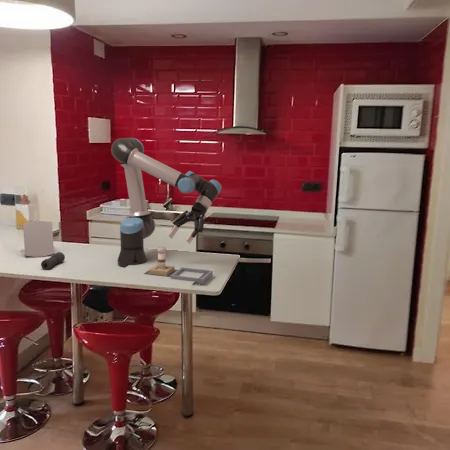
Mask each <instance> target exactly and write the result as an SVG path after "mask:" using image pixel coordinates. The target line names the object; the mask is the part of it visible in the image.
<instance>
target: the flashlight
mask: <svg viewBox="0 0 450 450" xmlns="http://www.w3.org/2000/svg"><path fill="white" fill-rule="evenodd" d="M65 259H66V255H65V254H64V253H63V252H62V251H58V252H56V253H55V252H54V253H53V254H52V255H50V257H48V258H45V259H43V260H42V261H41V263H40V267H41V268H42V270H45V271H47V270H51V269H52V268H53V266H56V265H59V264H61V263H62V262H64V261H65Z"/></svg>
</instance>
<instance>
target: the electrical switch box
mask: <svg viewBox="0 0 450 450" xmlns="http://www.w3.org/2000/svg"><path fill="white" fill-rule="evenodd" d="M22 225H23V226H22V228H23V245H24V255H25V256H26V257H34V258H35V257H36V258H41V257H46V256H49V255H50V256H52V255H54V254H55V252H54V251H55V250H54V232H53V222H52V221H45V220H38V219H37V220H34V221H33V220H32V221H29V222H24V223H23V224H22Z"/></svg>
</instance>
